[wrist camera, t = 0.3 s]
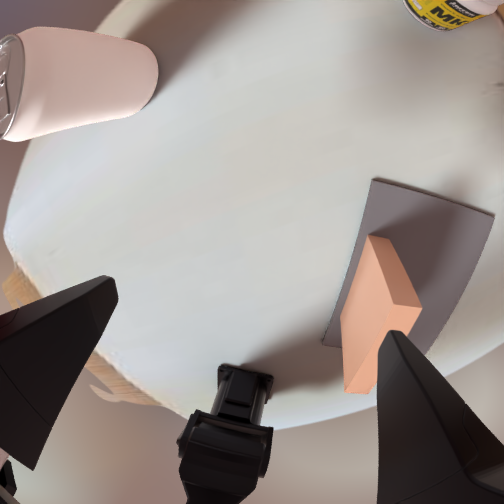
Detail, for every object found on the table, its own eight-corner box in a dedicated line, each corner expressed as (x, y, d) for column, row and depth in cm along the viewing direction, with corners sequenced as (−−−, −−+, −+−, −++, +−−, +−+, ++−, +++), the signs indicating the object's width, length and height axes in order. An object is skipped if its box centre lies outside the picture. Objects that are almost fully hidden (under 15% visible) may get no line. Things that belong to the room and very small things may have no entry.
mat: (424, 352, 24) (425, 355, 24) (322, 342, 25) (322, 345, 25) (492, 216, 16) (494, 218, 16) (371, 179, 17) (373, 180, 17)
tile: (359, 319, 23) (368, 394, 16) (339, 316, 23) (344, 392, 16) (389, 239, 19) (423, 308, 12) (367, 234, 19) (393, 304, 12)
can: (158, 32, 14) (33, 0, 4) (165, 107, 17) (32, 127, 7) (95, 58, 16) (-24, 63, 6) (101, 125, 19) (-19, 163, 9)
